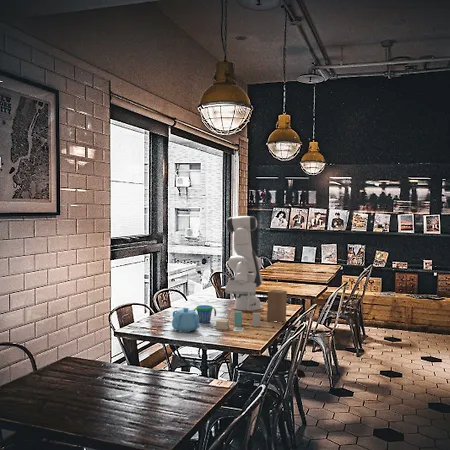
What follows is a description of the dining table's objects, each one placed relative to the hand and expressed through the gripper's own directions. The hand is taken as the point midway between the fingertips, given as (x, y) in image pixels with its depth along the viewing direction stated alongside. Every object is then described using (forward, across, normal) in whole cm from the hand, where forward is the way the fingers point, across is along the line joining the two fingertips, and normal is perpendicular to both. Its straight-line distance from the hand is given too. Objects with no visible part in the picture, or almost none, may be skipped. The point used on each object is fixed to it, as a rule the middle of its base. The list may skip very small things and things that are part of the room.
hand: (239, 298), depth 333 cm
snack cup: (+16, +22, -6) cm, 28 cm away
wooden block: (+6, -24, -15) cm, 29 cm away
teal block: (+19, 0, -2) cm, 19 cm away
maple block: (+25, +9, +3) cm, 27 cm away
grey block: (+18, -12, -3) cm, 22 cm away
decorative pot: (+32, +31, +10) cm, 46 cm away
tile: (+27, -1, +6) cm, 27 cm away
